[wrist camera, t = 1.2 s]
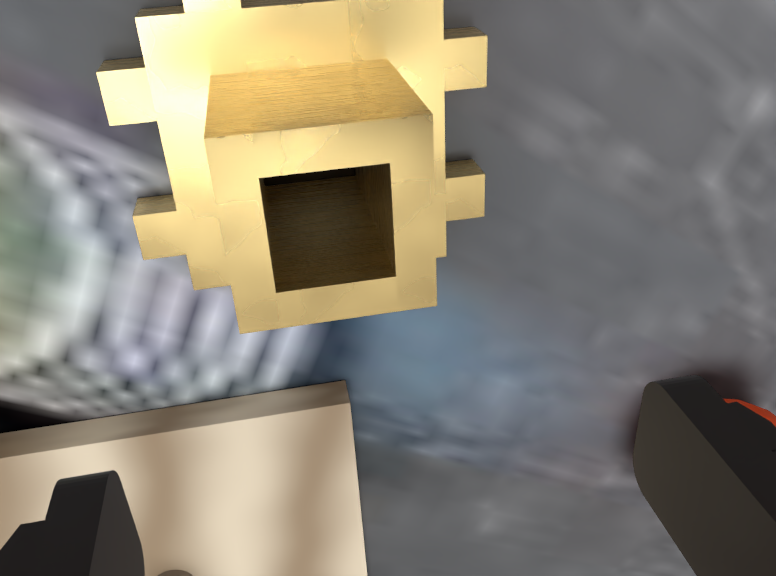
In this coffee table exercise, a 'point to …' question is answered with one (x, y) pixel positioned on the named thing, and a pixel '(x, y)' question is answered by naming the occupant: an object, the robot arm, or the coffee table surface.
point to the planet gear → (302, 149)
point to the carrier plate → (212, 482)
